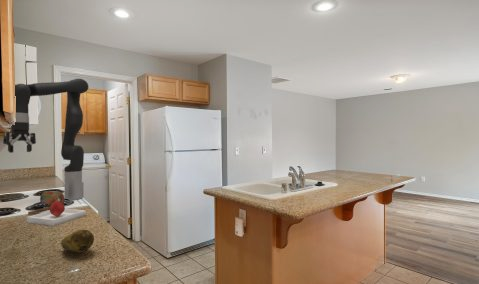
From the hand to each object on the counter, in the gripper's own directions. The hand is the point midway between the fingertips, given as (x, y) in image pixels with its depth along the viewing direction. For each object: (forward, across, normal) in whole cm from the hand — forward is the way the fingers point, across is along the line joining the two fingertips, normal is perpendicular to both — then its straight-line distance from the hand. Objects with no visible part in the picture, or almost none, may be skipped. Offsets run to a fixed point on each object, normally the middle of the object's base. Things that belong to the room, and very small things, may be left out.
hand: (20, 152), depth 140 cm
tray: (+30, -8, -37) cm, 48 cm away
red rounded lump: (+29, -8, -37) cm, 48 cm away
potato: (+30, -33, -79) cm, 91 cm away
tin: (+30, +9, -11) cm, 34 cm away
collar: (+30, -2, -22) cm, 37 cm away
